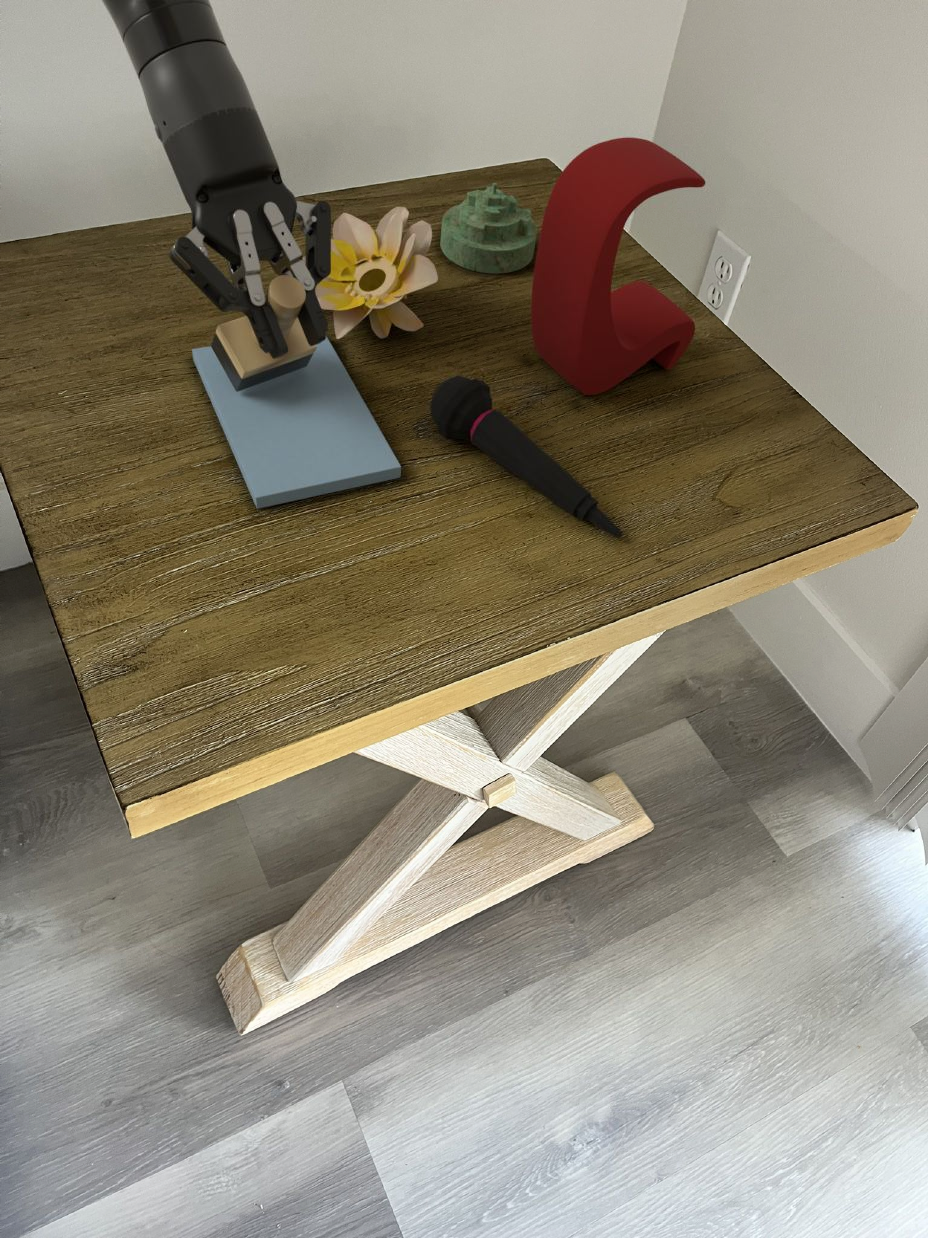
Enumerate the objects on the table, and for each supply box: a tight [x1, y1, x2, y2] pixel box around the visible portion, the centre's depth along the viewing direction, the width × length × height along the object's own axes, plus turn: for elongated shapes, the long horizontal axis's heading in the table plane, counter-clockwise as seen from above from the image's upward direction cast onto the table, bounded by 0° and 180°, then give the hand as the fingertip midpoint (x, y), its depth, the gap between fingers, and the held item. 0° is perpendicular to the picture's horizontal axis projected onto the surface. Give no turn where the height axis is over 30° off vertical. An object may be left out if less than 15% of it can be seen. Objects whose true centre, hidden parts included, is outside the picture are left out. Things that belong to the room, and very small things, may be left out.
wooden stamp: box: [210, 275, 317, 392], centre depth 80 cm, size 7×4×11 cm, turn 128°
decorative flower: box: [302, 206, 439, 340], centre depth 91 cm, size 15×11×10 cm
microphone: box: [429, 374, 623, 539], centre depth 80 cm, size 6×6×20 cm
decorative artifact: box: [439, 182, 538, 275], centre depth 102 cm, size 10×7×10 cm
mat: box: [191, 335, 402, 510], centre depth 83 cm, size 12×20×1 cm, turn 24°
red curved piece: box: [530, 136, 706, 396], centre depth 85 cm, size 15×7×20 cm, turn 123°
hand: (299, 347), depth 77 cm, fingers closed on wooden stamp, 3 cm apart
